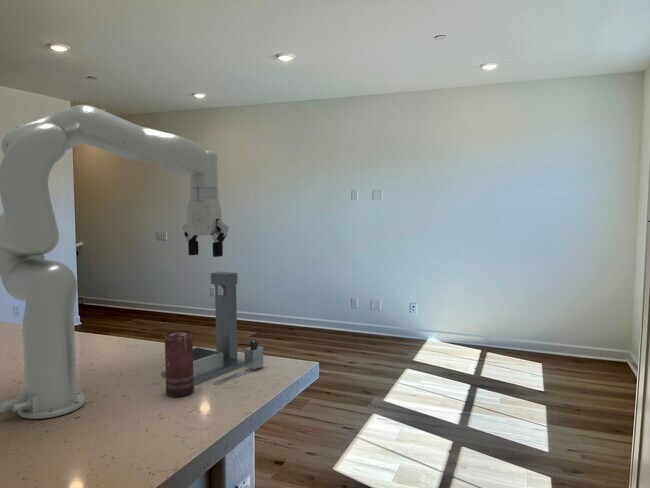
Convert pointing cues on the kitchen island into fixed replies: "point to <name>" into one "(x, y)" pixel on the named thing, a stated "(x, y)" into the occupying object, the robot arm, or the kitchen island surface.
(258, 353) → the lever
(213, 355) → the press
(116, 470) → the kitchen island surface
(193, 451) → the kitchen island surface
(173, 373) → the red can
